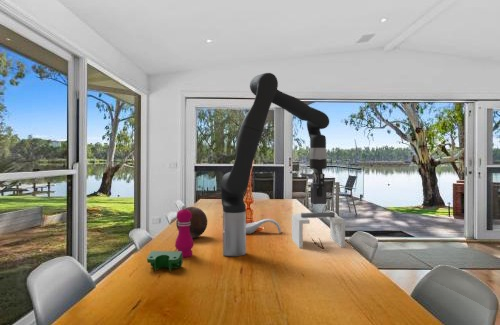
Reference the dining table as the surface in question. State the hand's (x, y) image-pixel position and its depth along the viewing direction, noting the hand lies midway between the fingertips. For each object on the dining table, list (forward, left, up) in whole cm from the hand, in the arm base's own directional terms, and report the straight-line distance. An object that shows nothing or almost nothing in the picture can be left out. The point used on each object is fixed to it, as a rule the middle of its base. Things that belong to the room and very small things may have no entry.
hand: (318, 195), depth 175 cm
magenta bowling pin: (-58, -17, -22) cm, 64 cm away
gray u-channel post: (0, 0, -3) cm, 3 cm away
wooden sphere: (-58, +17, -22) cm, 64 cm away
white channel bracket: (0, 0, -22) cm, 22 cm away
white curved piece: (-25, +28, -22) cm, 44 cm away
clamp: (-63, -35, -22) cm, 75 cm away
